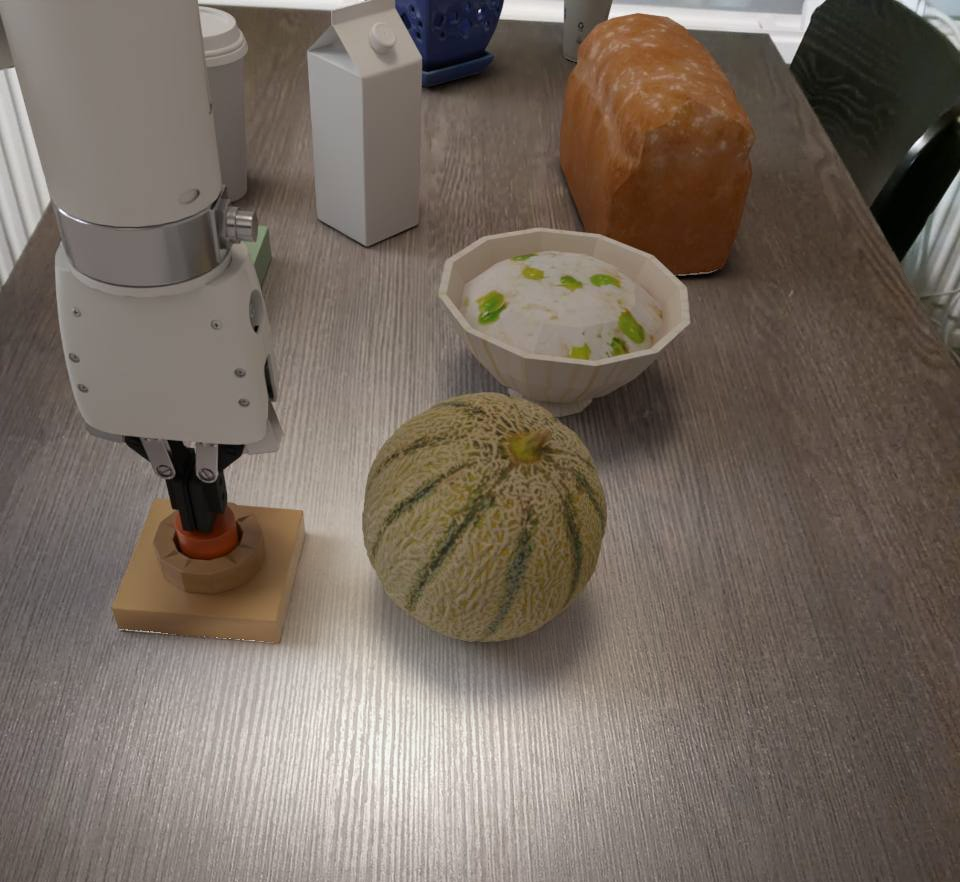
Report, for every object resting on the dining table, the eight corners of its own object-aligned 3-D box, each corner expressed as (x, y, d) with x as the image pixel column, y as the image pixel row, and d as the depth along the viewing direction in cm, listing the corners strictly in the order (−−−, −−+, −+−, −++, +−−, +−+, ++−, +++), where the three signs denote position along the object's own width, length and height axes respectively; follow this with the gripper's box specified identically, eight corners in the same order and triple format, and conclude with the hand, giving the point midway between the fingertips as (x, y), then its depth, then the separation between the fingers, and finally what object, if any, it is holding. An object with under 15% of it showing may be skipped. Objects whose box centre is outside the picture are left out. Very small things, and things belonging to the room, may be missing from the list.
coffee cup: (169, 167, 100) (140, 0, 88) (264, 168, 101) (247, 4, 89) (160, 211, 94) (128, 39, 82) (261, 213, 95) (242, 43, 83)
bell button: (172, 558, 59) (167, 537, 58) (187, 518, 62) (182, 497, 60) (231, 563, 59) (227, 542, 58) (243, 522, 62) (240, 502, 60)
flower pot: (355, 63, 121) (352, -50, 112) (436, 42, 127) (439, -67, 118) (425, 100, 115) (427, -16, 106) (505, 76, 121) (514, -35, 112)
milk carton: (316, 220, 95) (302, -3, 80) (370, 198, 98) (366, -19, 84) (366, 249, 92) (361, 23, 77) (419, 225, 95) (424, 5, 81)
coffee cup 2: (617, 59, 127) (631, -30, 120) (583, 71, 124) (596, -19, 116) (577, 43, 130) (588, -45, 123) (543, 54, 127) (552, -35, 119)
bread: (595, 280, 91) (625, 102, 79) (550, 155, 108) (569, -7, 96) (736, 280, 93) (786, 106, 81) (670, 157, 109) (704, -2, 97)
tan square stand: (118, 631, 60) (103, 587, 57) (160, 521, 66) (149, 476, 63) (279, 644, 60) (273, 601, 57) (305, 533, 67) (301, 489, 64)
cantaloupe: (383, 511, 69) (382, 323, 57) (589, 537, 68) (628, 353, 57) (343, 674, 59) (331, 487, 48) (582, 704, 59) (627, 523, 47)
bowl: (634, 494, 72) (663, 380, 64) (395, 425, 75) (395, 308, 67) (689, 358, 84) (719, 248, 76) (481, 304, 87) (489, 193, 79)
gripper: (317, 204, 48) (333, 486, 62) (12, 175, 47) (98, 466, 61) (291, 284, 43) (315, 571, 57) (-49, 253, 42) (60, 549, 57)
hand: (202, 516), depth 59 cm, fingers closed
